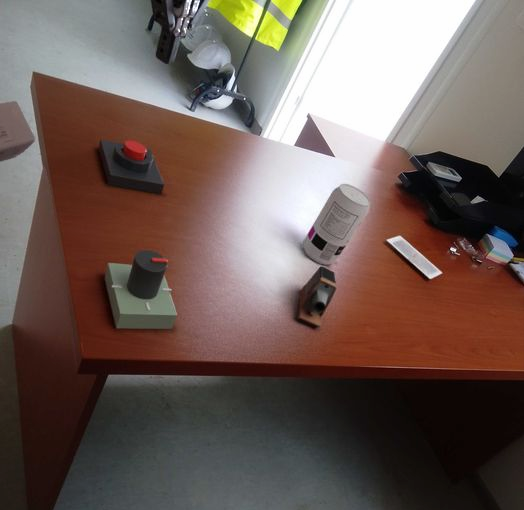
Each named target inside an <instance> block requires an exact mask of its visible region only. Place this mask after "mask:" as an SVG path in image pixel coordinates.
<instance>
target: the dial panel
mask: <svg viewBox="0 0 524 510" xmlns="http://www.w3.org/2000/svg"><path fill="white" fill-rule="evenodd" d="M131 268H132V264H126V263H114V262H107V266H106V271H105V275H104V282H105V286H106V291H107V296H108V299H109V304H110V308H111V312H112V316H113V320H114V326H115V329H131V330H132V329H137V330H138V329H139V330H141V329H143V330H156V329H157V330H172V329H173V328H174V324H175V322H176V319H177V317H178V313H177V310H176V307H175V303H174V301H173V298H172V295H171V292H172V291H173V290H172V288H169V285H168V282H167V280H166V276H165V275H164V277H163V280H162V283H161V285H160V288H159V291H158V294H157V296H156V297H154V298H152V299H141V298H138V297H136V296H134V295H132V294H131V293H130V292H129V290H128V288H127V282H128V279H129V275H130V271H131Z"/></svg>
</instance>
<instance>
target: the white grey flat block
mask: <svg viewBox="0 0 524 510" xmlns="http://www.w3.org/2000/svg"><path fill="white" fill-rule="evenodd" d="M386 241H387V242H388V243H389V244H390V245H391V246H392V247H393V248H394V249H396V250H397V251H398V252H399V253H400V254H401V255H402V256H403V257H404V258H405V259H407V260H408V261H409V262H410V263H411V264H413V265H414V266H415V267H416V269H418V270H419V271H420V272H421V273H422V274H424V276H425V277H427V278H428V279H429V280H432V279H434V278H436V277H438V276H440V275H441V274H443V272H442V271H441V270H440V269H439V268H438V267H437V266H435V265H434V264H433V263H432V262H431V261H430V260H429V259H427V257H425V256H424V255H423V254H422V253H421V252H420V251H418V250H417V249H416V248H415V247H414V246H413V245H411V243H409V242H408V241H407V240H406V239H405V238H404V237H402V236H401V235H397V236H394V237H391V238H388V239H386Z"/></svg>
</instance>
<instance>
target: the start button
mask: <svg viewBox="0 0 524 510" xmlns="http://www.w3.org/2000/svg"><path fill="white" fill-rule="evenodd" d="M124 143H125V144H124V149H123V153H124V154H125V155H126V156H128V157H130V158H132V159H135V160H144V158H145V154H146V150H147V148H146V146H145V145H143V144H142V143H141V142H138V141H135V140H130V139H129V140H126V141H124Z"/></svg>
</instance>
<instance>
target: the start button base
mask: <svg viewBox="0 0 524 510" xmlns="http://www.w3.org/2000/svg"><path fill="white" fill-rule="evenodd" d="M124 144H125V142H115V141H110V140H105V139H102V138H100V139H99V145H98V153H99V156H100V160H101V163H102V166H103V167H102V168H103V171H104V174H105V177H106V181H107V185H108V186H111V187H117V188H123V189H129V190H135V191H140V192H146V193H151V194H157V195H162V193H163V191H164V187H165V183H164V181H163V178H162V175H161V173H160V171H159V167H158V165H157V163H156V159H155V157H154V155H153V152H152V150H151V149H146V154H145V158H144V160H135V159H132V158H130V157H128V156H126V155H125V154H124V153H123V149H124Z"/></svg>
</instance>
